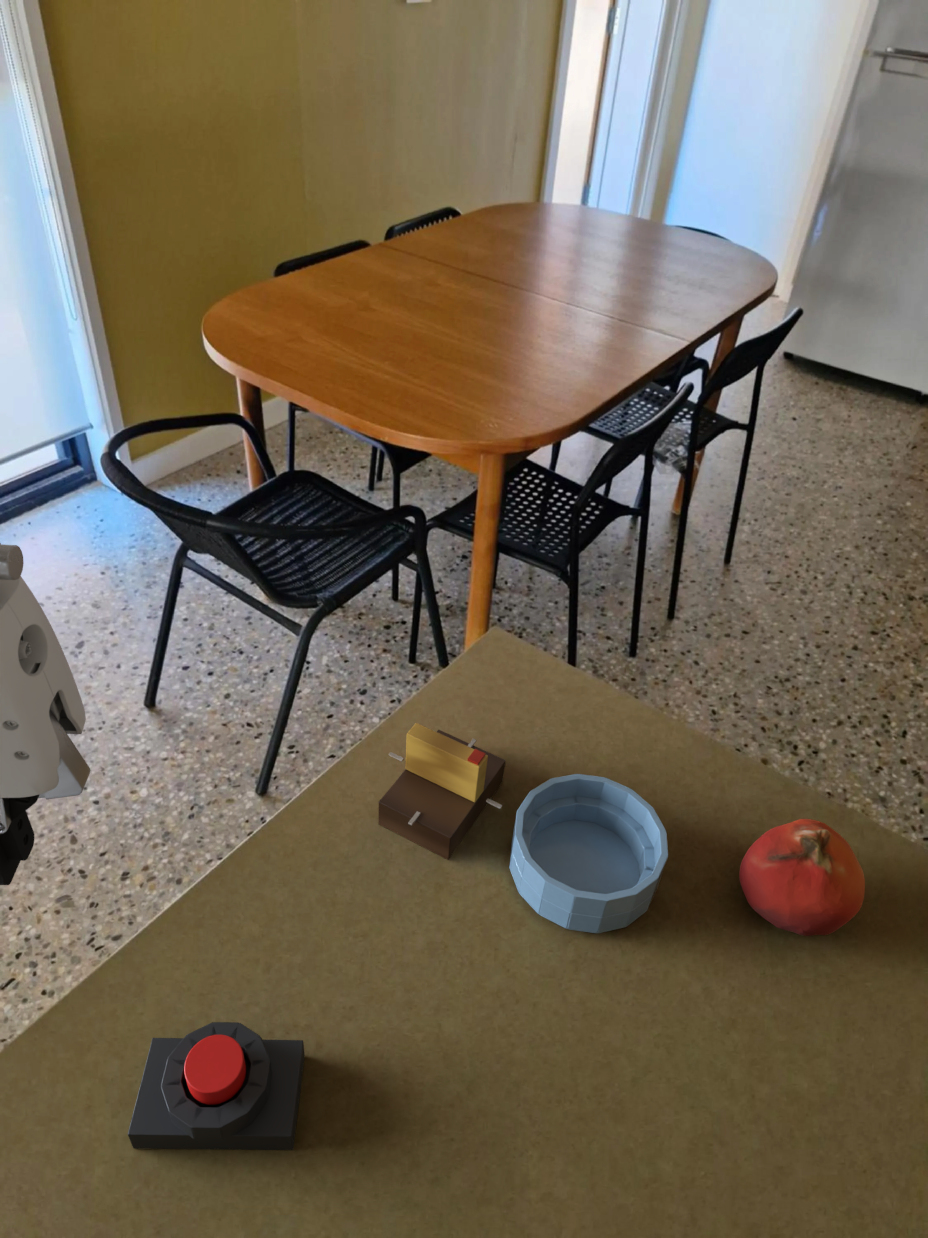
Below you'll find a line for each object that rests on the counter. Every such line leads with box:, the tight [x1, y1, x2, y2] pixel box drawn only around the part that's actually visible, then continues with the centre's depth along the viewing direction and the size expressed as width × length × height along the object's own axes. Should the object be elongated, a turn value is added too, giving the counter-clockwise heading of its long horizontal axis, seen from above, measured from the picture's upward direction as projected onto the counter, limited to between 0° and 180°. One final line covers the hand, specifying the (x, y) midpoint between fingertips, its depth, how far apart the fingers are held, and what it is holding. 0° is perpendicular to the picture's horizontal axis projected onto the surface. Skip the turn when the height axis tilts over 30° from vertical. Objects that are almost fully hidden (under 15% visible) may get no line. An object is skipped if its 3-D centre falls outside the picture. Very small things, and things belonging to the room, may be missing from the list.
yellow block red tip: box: [404, 722, 488, 802], centre depth 75 cm, size 7×2×5 cm, turn 61°
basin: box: [508, 773, 669, 934], centre depth 73 cm, size 12×12×5 cm
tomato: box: [738, 818, 866, 937], centre depth 71 cm, size 9×9×8 cm
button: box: [184, 1035, 246, 1105], centre depth 56 cm, size 4×4×2 cm
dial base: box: [377, 729, 506, 861], centre depth 78 cm, size 11×11×3 cm
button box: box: [127, 1021, 306, 1151], centre depth 57 cm, size 10×6×4 cm, turn 91°
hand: (4, 860), depth 45 cm, fingers closed
